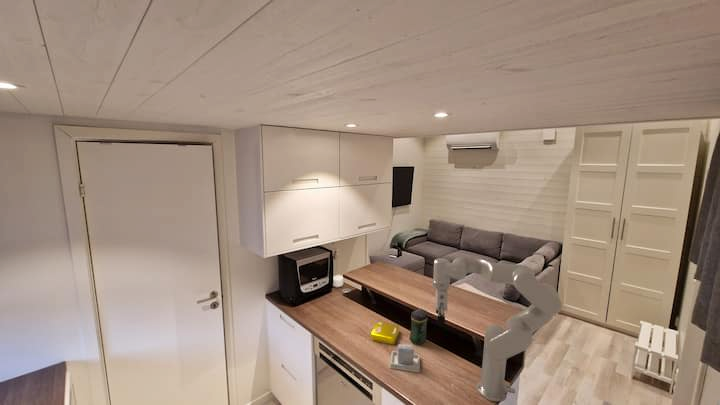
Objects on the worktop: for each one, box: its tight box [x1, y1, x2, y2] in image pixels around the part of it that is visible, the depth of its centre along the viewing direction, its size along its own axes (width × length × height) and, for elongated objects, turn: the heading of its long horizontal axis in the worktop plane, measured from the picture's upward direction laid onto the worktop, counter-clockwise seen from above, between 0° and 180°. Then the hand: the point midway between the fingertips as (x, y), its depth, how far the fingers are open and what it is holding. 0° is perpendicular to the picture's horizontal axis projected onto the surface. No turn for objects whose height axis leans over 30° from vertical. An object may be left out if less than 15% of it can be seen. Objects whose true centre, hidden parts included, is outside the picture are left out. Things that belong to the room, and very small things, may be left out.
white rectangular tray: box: [389, 350, 421, 373], centre depth 153 cm, size 15×11×2 cm
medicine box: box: [396, 343, 415, 364], centre depth 152 cm, size 8×4×9 cm, turn 90°
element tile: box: [370, 321, 400, 346], centre depth 176 cm, size 15×15×5 cm
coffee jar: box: [409, 308, 429, 346], centre depth 171 cm, size 10×8×19 cm
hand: (440, 318), depth 141 cm, fingers open, 9 cm apart
